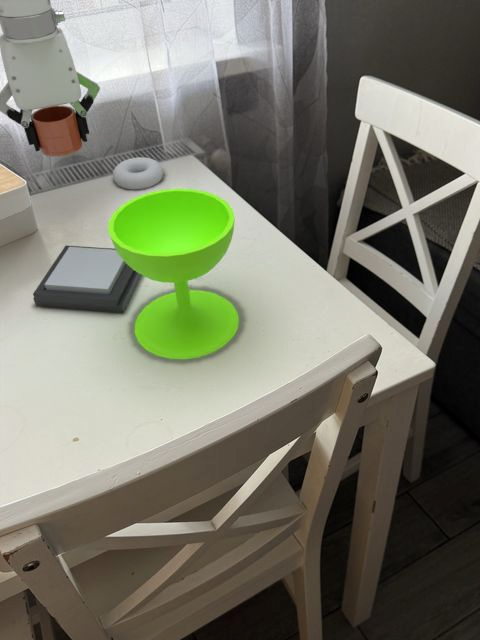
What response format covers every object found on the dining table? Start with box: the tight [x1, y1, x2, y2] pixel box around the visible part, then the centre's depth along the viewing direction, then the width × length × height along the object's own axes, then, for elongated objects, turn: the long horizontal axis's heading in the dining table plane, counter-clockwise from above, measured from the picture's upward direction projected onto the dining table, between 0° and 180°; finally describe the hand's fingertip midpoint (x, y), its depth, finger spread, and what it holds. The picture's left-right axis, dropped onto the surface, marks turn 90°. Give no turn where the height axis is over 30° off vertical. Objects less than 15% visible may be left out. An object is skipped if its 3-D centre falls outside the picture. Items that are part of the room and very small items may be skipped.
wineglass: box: [107, 188, 240, 360], centre depth 82 cm, size 16×16×18 cm
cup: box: [30, 105, 83, 157], centre depth 97 cm, size 7×7×6 cm
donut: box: [112, 156, 164, 191], centre depth 119 cm, size 10×4×10 cm
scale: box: [32, 245, 143, 314], centre depth 94 cm, size 14×13×4 cm
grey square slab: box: [45, 247, 126, 295], centre depth 93 cm, size 10×10×2 cm
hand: (60, 142), depth 98 cm, fingers closed on cup, 7 cm apart
